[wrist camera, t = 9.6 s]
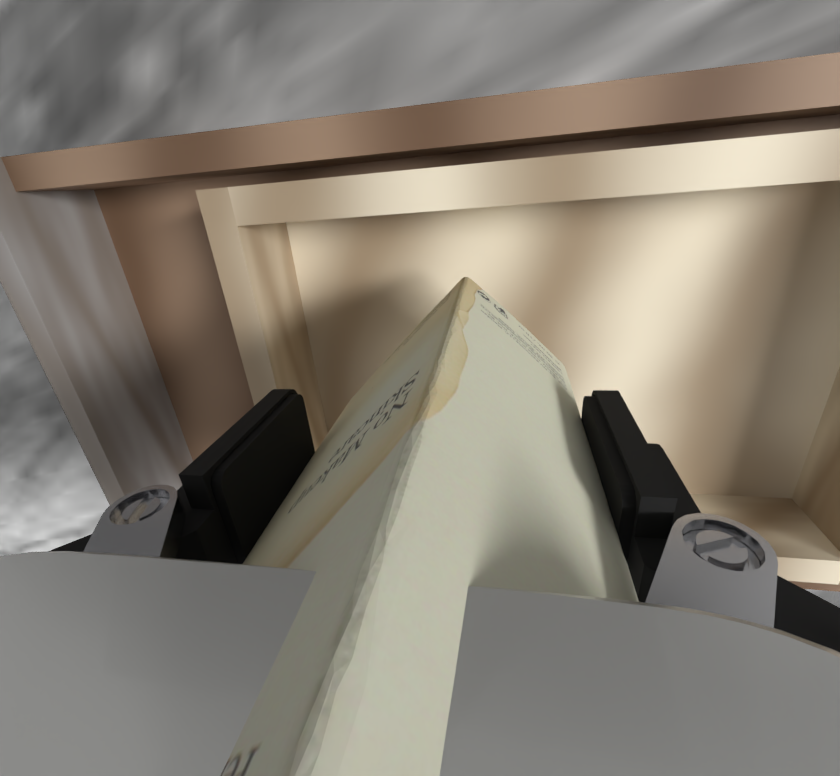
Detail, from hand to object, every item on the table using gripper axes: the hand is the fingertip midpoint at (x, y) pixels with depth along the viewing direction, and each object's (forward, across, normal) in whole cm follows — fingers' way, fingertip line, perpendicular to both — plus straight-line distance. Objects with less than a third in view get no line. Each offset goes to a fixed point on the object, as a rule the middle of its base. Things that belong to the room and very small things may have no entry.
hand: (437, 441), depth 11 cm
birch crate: (+6, -3, 0) cm, 7 cm away
